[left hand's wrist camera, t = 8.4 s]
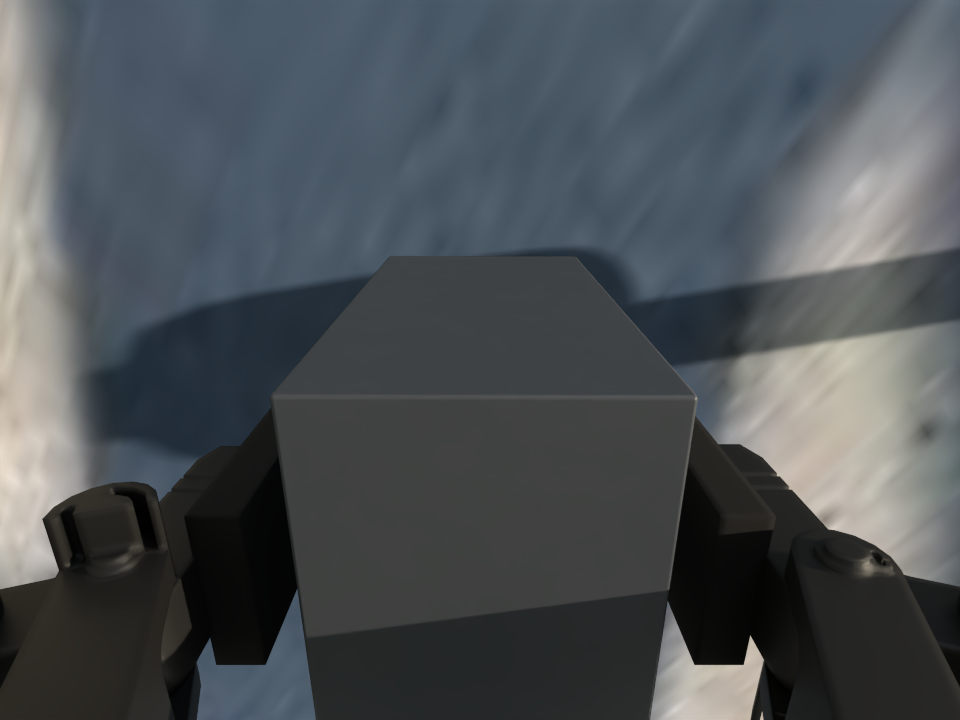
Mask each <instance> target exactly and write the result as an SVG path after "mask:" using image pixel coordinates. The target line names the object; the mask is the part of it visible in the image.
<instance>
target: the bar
mask: <svg viewBox="0 0 960 720" xmlns="http://www.w3.org/2000/svg"><path fill="white" fill-rule="evenodd" d="M270 400H271V407H272V414H273V421H274V428H275V435H276V442H277V449H278V456H279V463H280V470H281V477H282V484H283V491H284V498H285V505H286V512H287V519H288V526H289V533H290V540H291V547H292V554H293V561H294V568H295V575H296V582H297V589H298V596H299V603H300V610H301V617H302V624H303V631H304V638H305V645H306V652H307V659H308V666H309V673H310V680H311V687H312V694H313V701H314V708H315V715H316V720H650V715H651V708H652V702H653V695H654V688H655V681H656V675H657V668H658V661H659V655H660V648H661V641H662V635H663V628H664V621H665V614H666V608H667V601H668V594H669V588H670V581H671V574H672V568H673V561H674V554H675V547H676V541H677V534H678V527H679V521H680V514H681V507H682V501H683V494H684V487H685V480H686V474H687V467H688V460H689V454H690V447H691V440H692V434H693V427H694V420H695V413H696V407H697V400H698V398H697V395H696V394H695V393H694V392H693V391H692V389H691V388H690V387H689V386H688V385H687V384H686V383H685V381H684V380H683V379H682V378H681V377H680V376H679V375H678V373H677V372H676V371H675V370H674V369H673V368H672V367H671V365H670V364H669V363H668V362H667V361H666V360H665V359H664V357H663V356H662V355H661V354H660V353H659V352H658V350H657V349H656V348H655V347H654V346H653V345H652V344H651V342H650V341H649V340H648V339H647V338H646V337H645V336H644V334H643V333H642V332H641V331H640V330H639V329H638V328H637V326H636V325H635V324H634V323H633V322H632V321H631V320H630V318H629V317H628V316H627V315H626V314H625V313H624V312H623V310H622V309H621V308H620V307H619V306H618V305H617V303H616V302H615V301H614V300H613V299H612V298H611V297H610V295H609V294H608V293H607V292H606V291H605V290H604V289H603V287H602V286H601V285H600V284H599V283H598V282H597V281H596V279H595V278H594V277H593V276H592V275H591V274H590V273H589V271H588V270H587V269H586V268H585V267H584V266H583V264H582V263H581V262H580V261H579V260H578V259H577V258H576V257H575V256H390V257H389V258H388V259H387V260H386V261H385V262H384V264H383V265H382V266H381V267H380V268H379V269H378V271H377V272H376V273H375V274H374V275H373V276H372V278H371V279H370V280H369V281H368V282H367V283H366V285H365V286H364V287H363V288H362V289H361V290H360V292H359V293H358V294H357V295H356V296H355V297H354V299H353V300H352V301H351V302H350V303H349V304H348V306H347V307H346V308H345V309H344V310H343V311H342V313H341V314H340V315H339V316H338V317H337V318H336V320H335V321H334V322H333V323H332V324H331V326H330V327H329V328H328V329H327V330H326V331H325V333H324V334H323V335H322V336H321V337H320V338H319V340H318V341H317V342H316V343H315V344H314V345H313V347H312V348H311V349H310V350H309V351H308V352H307V354H306V355H305V356H304V357H303V358H302V359H301V361H300V362H299V363H298V364H297V365H296V366H295V368H294V369H293V370H292V371H291V372H290V373H289V375H288V376H287V377H286V378H285V379H284V380H283V382H282V383H281V384H280V385H279V386H278V387H277V389H276V390H275V391H274V392H273V393H272V394H271V397H270Z"/></svg>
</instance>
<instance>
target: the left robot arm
mask: <svg viewBox="0 0 960 720" xmlns="http://www.w3.org/2000/svg"><path fill="white" fill-rule="evenodd" d="M43 523H44V526H45V529H46V532H47V535H48V538H49V541H50V544H51V547H52V550H53V553H54V556H55V559H56V563H57V566H58V569H59V572H58V574H57V576H56V578H52V579H48V580H44V581H39V582H34V583H29V584H24V585H19V586H14V587H10V588H5V589H0V720H197V712H198V704H199V696H200V688H201V683H200V676H199V671H198V667H197V660H198V658H199V656H200V654H201V653H202V651H203V649H204V647H205V645H206V644H207V642H208V640H209V638H211V643H212V647H213V652H214V656H215V661H216V665H266V662H267V660H268V658H269V655H270V653H271V650H272V648H273V646H274V643H275V641H276V638H277V636H278V634H279V631H280V629H281V626H282V624H283V622H284V619H285V617H286V614H287V612H288V610H289V607H290V605H291V602H292V600H293V597H294V595H295V593H296V590H297V582H296V575H295V568H294V561H293V554H292V547H291V540H290V533H289V526H288V519H287V512H286V505H285V498H284V491H283V484H282V477H281V470H280V463H279V456H278V449H277V442H276V435H275V428H274V421H273V414H272V408H271V409H270V410H269V411H268V413H267V414H266V415H265V416H264V418H263V419H262V420H261V421H260V422H259V424H258V425H257V426H256V427H255V429H254V430H253V431H252V432H251V434H250V435H249V436H248V437H247V439H246V440H245V441H244V442H243V444H242V445H241V446H220V447H218V448H217V449H215V450H213V451H212V452H210V453H208V454H207V455H205V456H203V457H202V458H200V459H198V460H197V461H196V462H195V463H194V465H193V466H192V467H191V468H190V469H189V470H188V471H187V472H186V473H185V474H184V478H183V479H180V480H179V481H178V482H177V483H176V484H175V485H174V487H173V488H172V491H171V492H168V493H167V494H166V495H165V496H164V498H163V499H162V500H161V501H160V502H159V501H158V497H157V492H156V490H155V489H153V488H152V487H151V486H149V485H148V484H144V483H138V482H121V483H111V484H107V485H103V486H99V487H95V488H91V489H89V490H86V491H84V492H81V493H79V494H76V495H74V496H71V497H70V498H68V499H66V500H65V501H63V502H62V503H60V504H58V505H57V506H55V507H54V508H53V509H52V510H51V511H50V512H49V513H48V514H47V515H46V516H45V517H44V518H43ZM668 602H669V605H670V607H671V610H672V612H673V614H674V617H675V619H676V622H677V624H678V626H679V629H680V631H681V634H682V636H683V638H684V641H685V643H686V646H687V648H688V650H689V653H690V655H691V658H692V660H693V662H694V665H744V661H745V656H746V652H747V647H748V643H749V638H750V635H751V637H752V639H753V641H754V643H755V644H756V646H757V648H758V650H759V652H760V653H761V655H762V657H763V659H764V662H763V667H762V671H761V675H760V679H759V683H758V688H757V692H756V696H755V700H754V705H753V709H752V715H751V720H760V717H761V713H762V711H763V718H764V720H960V587H958V586H953V585H949V584H944V583H939V582H934V581H929V580H924V579H919V578H914V577H910V576H906V575H903V573H902V571H901V569H900V568H899V567H898V565H897V564H896V563H895V562H894V560H893V559H892V558H891V557H890V556H889V555H887V554H886V553H885V552H883V551H882V550H880V549H879V548H878V547H876V546H875V545H873V544H871V543H869V542H867V541H864V540H862V539H860V538H858V537H856V536H853V535H850V534H846V533H842V532H839V531H835V530H828V529H827V528H826V527H825V526H824V524H823V523H822V522H821V521H820V520H819V519H818V518H817V517H816V516H815V515H814V514H813V512H812V511H811V510H810V509H809V508H808V507H807V506H806V505H805V504H804V503H803V502H802V500H801V499H800V498H799V497H798V496H797V495H796V494H795V493H794V492H793V491H792V490H789V486H788V485H787V484H786V483H785V482H784V481H783V480H782V479H781V477H777V473H776V472H775V471H774V470H773V469H772V468H771V467H770V465H769V464H768V463H767V462H766V461H765V460H764V459H763V458H762V457H760V456H759V455H757V454H755V453H754V452H752V451H750V450H748V449H747V448H745V447H743V446H742V445H740V444H717V442H716V441H715V440H714V439H713V437H712V436H711V435H710V434H709V432H708V431H707V430H706V429H705V427H704V426H703V425H702V424H701V422H700V421H699V420H698V419H697V418H696V416H695V420H694V427H693V434H692V440H691V447H690V454H689V460H688V467H687V474H686V480H685V487H684V494H683V501H682V507H681V514H680V521H679V527H678V534H677V541H676V547H675V554H674V561H673V568H672V574H671V581H670V588H669V594H668Z"/></svg>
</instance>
